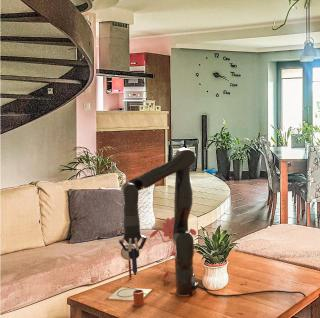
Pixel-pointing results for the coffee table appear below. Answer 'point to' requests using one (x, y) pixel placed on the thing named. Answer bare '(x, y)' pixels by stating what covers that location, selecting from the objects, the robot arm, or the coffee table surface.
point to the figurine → (169, 232)
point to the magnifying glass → (127, 258)
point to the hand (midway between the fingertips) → (134, 257)
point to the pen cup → (138, 297)
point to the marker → (134, 260)
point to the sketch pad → (127, 293)
